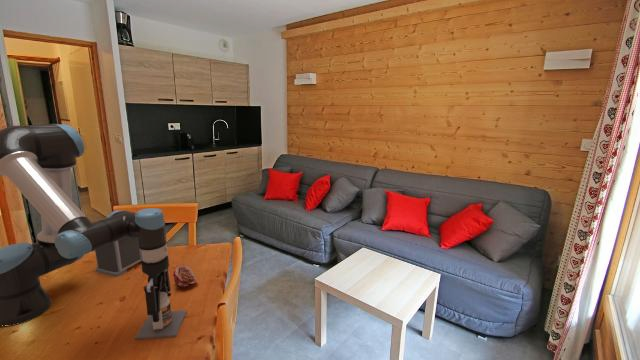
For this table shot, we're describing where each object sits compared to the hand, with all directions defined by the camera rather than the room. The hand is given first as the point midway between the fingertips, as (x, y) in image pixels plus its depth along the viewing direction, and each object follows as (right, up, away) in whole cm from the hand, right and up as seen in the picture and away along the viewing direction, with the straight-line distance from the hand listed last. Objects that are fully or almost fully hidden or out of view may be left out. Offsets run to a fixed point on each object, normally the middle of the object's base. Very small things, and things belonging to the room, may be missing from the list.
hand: (162, 321), depth 100 cm
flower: (-2, +4, +23) cm, 23 cm away
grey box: (-36, +8, +38) cm, 53 cm away
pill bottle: (0, 0, 0) cm, 1 cm away
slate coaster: (0, -1, 0) cm, 1 cm away
